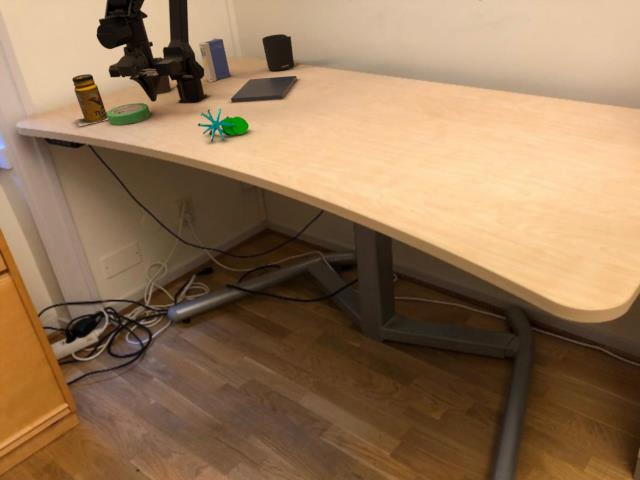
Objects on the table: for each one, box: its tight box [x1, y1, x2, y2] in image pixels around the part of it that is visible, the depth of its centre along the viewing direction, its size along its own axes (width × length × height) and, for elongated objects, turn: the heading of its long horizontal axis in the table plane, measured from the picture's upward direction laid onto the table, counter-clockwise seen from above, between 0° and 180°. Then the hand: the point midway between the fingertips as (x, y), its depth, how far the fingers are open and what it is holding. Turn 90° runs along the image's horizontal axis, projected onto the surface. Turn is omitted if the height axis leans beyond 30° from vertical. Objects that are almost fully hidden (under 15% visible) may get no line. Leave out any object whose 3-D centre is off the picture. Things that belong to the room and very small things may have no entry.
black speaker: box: [261, 33, 295, 72], centre depth 195 cm, size 9×9×10 cm
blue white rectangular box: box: [198, 37, 231, 83], centre depth 191 cm, size 8×3×12 cm, turn 141°
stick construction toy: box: [197, 108, 250, 143], centre depth 141 cm, size 12×7×8 cm
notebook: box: [230, 75, 298, 103], centre depth 174 cm, size 15×21×1 cm
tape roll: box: [106, 102, 151, 126], centre depth 162 cm, size 11×11×3 cm
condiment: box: [71, 73, 109, 127], centre depth 162 cm, size 7×8×12 cm
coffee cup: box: [155, 56, 172, 95], centre depth 184 cm, size 8×8×10 cm
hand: (154, 101), depth 158 cm, fingers closed
